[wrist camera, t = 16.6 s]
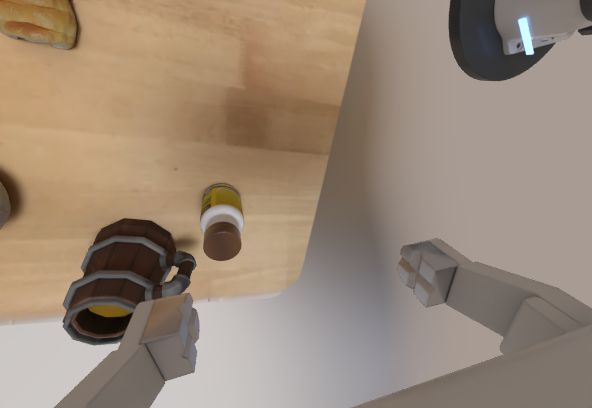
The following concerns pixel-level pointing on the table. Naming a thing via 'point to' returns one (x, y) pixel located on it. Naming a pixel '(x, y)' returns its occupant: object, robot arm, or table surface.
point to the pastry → (39, 21)
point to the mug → (123, 279)
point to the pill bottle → (221, 207)
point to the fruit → (4, 206)
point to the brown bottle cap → (222, 241)
